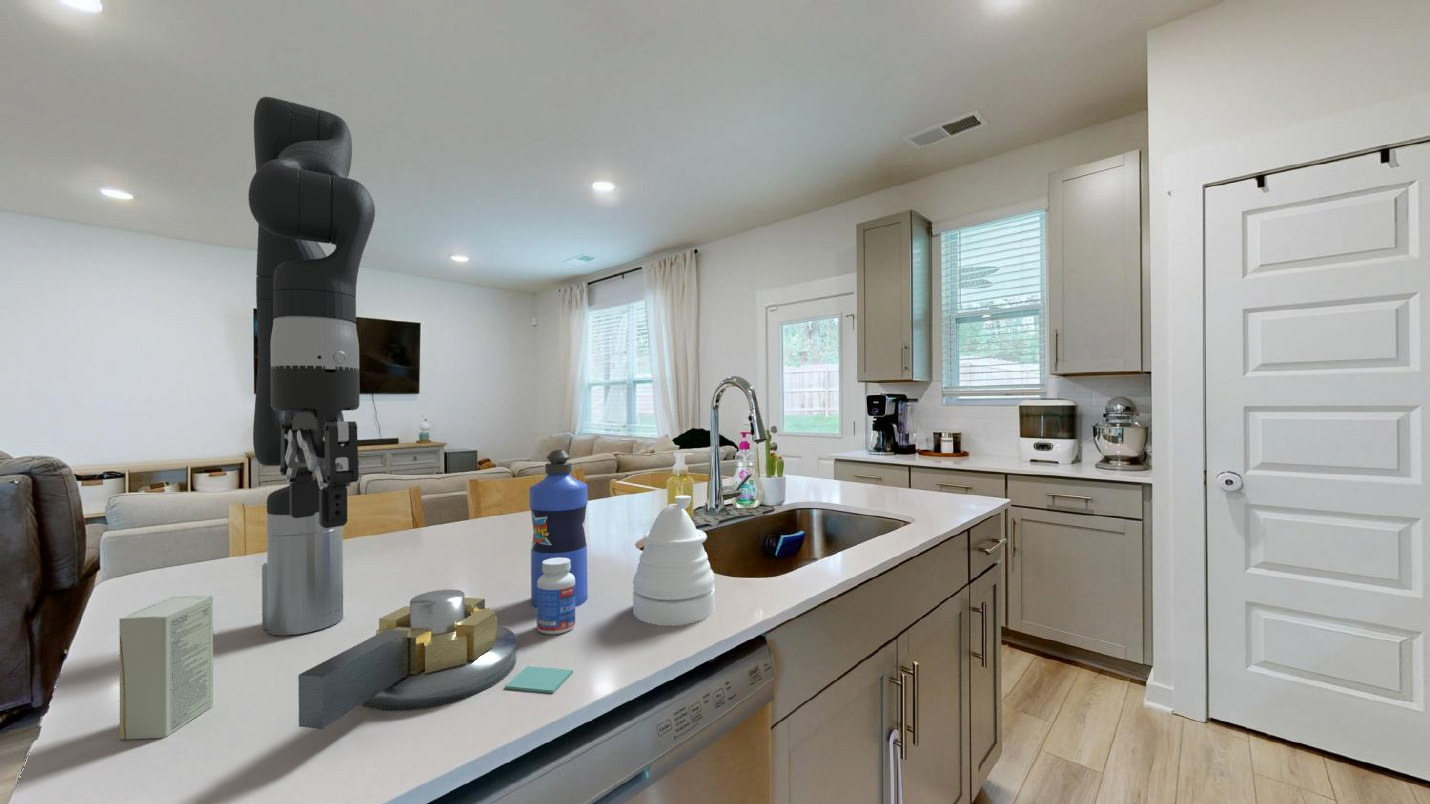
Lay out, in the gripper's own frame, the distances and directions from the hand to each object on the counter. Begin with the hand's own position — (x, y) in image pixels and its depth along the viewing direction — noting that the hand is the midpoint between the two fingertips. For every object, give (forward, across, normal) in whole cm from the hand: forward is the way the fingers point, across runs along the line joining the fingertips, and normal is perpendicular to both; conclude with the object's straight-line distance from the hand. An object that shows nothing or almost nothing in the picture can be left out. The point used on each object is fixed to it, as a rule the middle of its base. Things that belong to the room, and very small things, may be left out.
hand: (317, 521), depth 59 cm
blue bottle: (+21, -10, +38) cm, 44 cm away
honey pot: (+21, +9, +45) cm, 51 cm away
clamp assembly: (+18, +2, +8) cm, 20 cm away
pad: (+21, +11, +19) cm, 30 cm away
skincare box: (+21, -12, -9) cm, 26 cm away
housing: (+21, -1, +13) cm, 24 cm away
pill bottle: (+21, 0, +30) cm, 36 cm away
